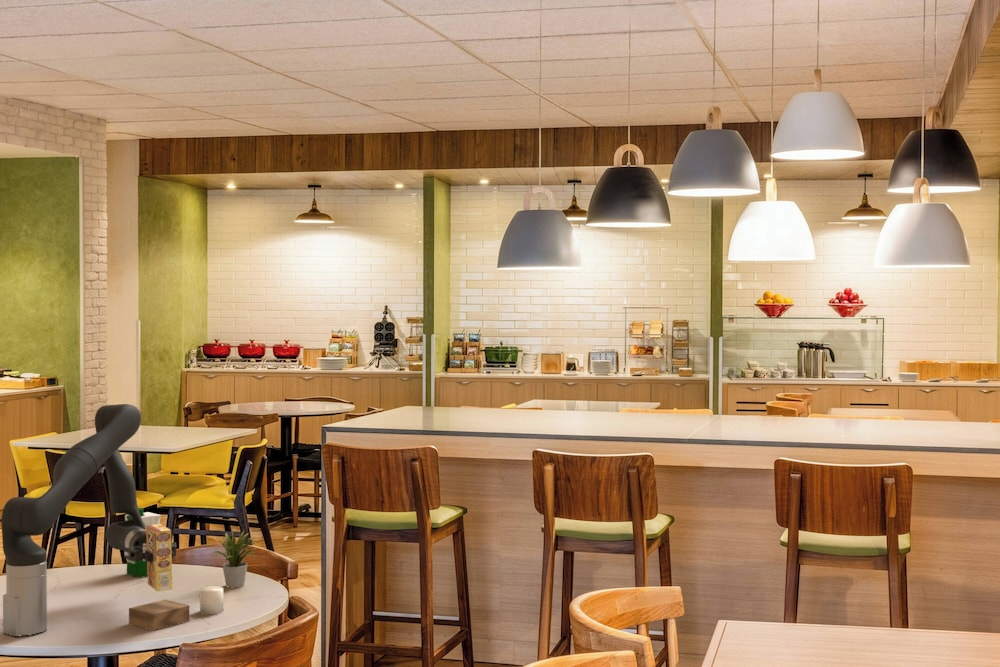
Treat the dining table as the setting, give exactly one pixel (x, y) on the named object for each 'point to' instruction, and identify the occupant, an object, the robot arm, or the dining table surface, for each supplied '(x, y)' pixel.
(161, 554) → the candy box
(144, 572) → the milk carton
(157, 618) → the walnut slab
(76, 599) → the dining table surface
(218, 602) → the white cylinder
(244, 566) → the house plant
